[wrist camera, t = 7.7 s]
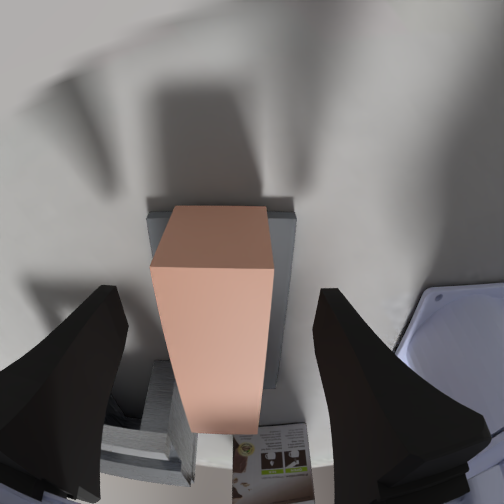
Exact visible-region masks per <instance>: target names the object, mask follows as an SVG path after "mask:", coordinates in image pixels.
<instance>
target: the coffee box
mask: <svg viewBox="0 0 504 504" xmlns="http://www.w3.org/2000/svg"><path fill="white" fill-rule="evenodd" d="M232 484H233V485H232V496H233V497H232V504H315V497H314V487H313V478H312V469H311V460H310V452H309V442H308V434H307V425H306V423H300V424H291V425H279V426H265V427H258V434H251V435H245V434H233V480H232Z"/></svg>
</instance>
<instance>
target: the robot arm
mask: <svg viewBox="0 0 504 504" xmlns="http://www.w3.org/2000/svg"><path fill="white" fill-rule="evenodd" d="M128 327H129V325H128V322H127V319H126V316H125V313H124V310H123V307H122V304H121V300H120V297H119V294H118V291H117V287H116V286H110V285H101V286H100V287H99V288H98V289H96V290H95V291H94V292H93V293H92V294H91V295H90V296H89V297H88V298H87V299H86V300H85V301H84V302H83V303H82V304H81V305H80V306H79V307H78V308H77V309H76V310H75V311H74V312H73V313H72V314H71V315H69V316H68V317H67V318H66V319H65V320H64V321H63V322H62V323H61V324H60V325H59V326H58V327H57V328H56V329H55V330H53V331H52V332H51V333H50V334H49V335H48V336H47V337H46V338H45V339H44V340H42V341H41V342H40V343H39V344H38V345H37V346H35V347H34V348H33V349H31V350H30V351H29V352H28V353H26V354H25V355H24V356H22V357H21V358H20V359H18V360H17V361H15V362H14V363H12V364H11V365H9V366H8V367H6V368H5V369H3V370H2V371H0V504H80V503H77V502H74V501H70V500H68V499H67V497H68V498H71V499H74V500H76V499H79V500H82V501H86V502H89V503H96V502H98V501H99V500H100V499H101V498H100V456H101V443H102V434H103V426H104V420H105V413H106V408H107V404H108V399H109V396H110V393H111V389H112V386H113V383H114V380H115V377H116V373H117V370H118V367H119V364H120V361H121V358H122V355H123V351H124V347H125V342H126V337H127V332H128ZM312 331H313V339H314V348H315V355H316V359H317V364H318V368H319V372H320V376H321V380H322V384H323V388H324V393H325V397H326V401H327V405H328V411H329V416H330V425H331V434H332V446H333V459H334V481H335V504H504V283H492V284H478V285H463V286H446V287H431V288H428V289H426V290H425V291H424V293H423V294H422V297H421V299H420V301H419V304H418V306H417V308H416V310H415V313H414V315H413V317H412V319H411V322H410V324H409V326H408V328H407V330H406V332H405V334H404V336H403V338H402V340H401V342H400V344H399V346H398V348H397V350H396V352H395V354H394V353H393V352H392V351H391V350H390V349H389V348H388V347H387V346H386V345H385V344H384V343H383V342H382V340H381V339H380V338H379V337H378V336H377V335H376V334H375V333H374V332H373V330H372V329H371V328H370V327H369V326H368V325H367V323H366V322H365V321H364V320H363V319H362V318H361V316H360V315H359V314H358V313H357V311H356V310H355V309H354V308H353V306H352V305H351V304H350V303H349V301H348V300H347V299H346V298H345V296H344V295H343V294H342V293H341V292H340V290H339V289H338V288H321V290H320V295H319V300H318V305H317V310H316V315H315V319H314V324H313V329H312Z"/></svg>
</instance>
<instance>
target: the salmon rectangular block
mask: <svg viewBox="0 0 504 504" xmlns="http://www.w3.org/2000/svg"><path fill="white" fill-rule="evenodd" d="M150 271H151V277H152V282H153V287H154V292H155V296H156V301H157V306H158V310H159V315H160V319H161V324H162V328H163V332H164V337H165V341H166V345H167V349H168V353H169V357H170V360H171V364H172V368H173V372H174V375H175V379H176V383H177V386H178V390H179V393H180V397H181V400H182V403H183V407H184V410H185V413H186V416H187V420H188V423H189V426H190V429H191V432H192V433H208V434H245V435H251V434H258V425H259V417H260V408H261V399H262V390H263V381H264V371H265V362H266V352H267V342H268V332H269V322H270V311H271V301H272V290H273V279H274V262H273V255H272V247H271V239H270V232H269V224H268V217H267V209H266V206H175V208H174V210H173V212H172V214H171V217H170V219H169V221H168V224H167V226H166V228H165V231H164V233H163V235H162V238H161V240H160V243H159V245H158V247H157V250H156V252H155V255H154V257H153V260H152V262H151V265H150Z"/></svg>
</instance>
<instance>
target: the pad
mask: <svg viewBox="0 0 504 504" xmlns="http://www.w3.org/2000/svg"><path fill="white" fill-rule="evenodd" d="M171 214H172V212H150V213H149V215H148V216H147V218H146V220H147V227H148V233H149V239H150V245H151V251H152V257H154V255H155V252H156V250H157V247H158V245H159V243H160V240H161V238H162V235H163V233H164V231H165V228H166V226H167V224H168V221H169V219H170V217H171ZM267 217H268V224H269V232H270V239H271V247H272V255H273V262H274V279H273V290H272V301H271V311H270V322H269V332H268V342H267V352H266V362H265V371H264V381H263V389H275V388H276V382H277V376H278V369H279V362H280V355H281V348H282V340H283V333H284V326H285V318H286V310H287V302H288V294H289V286H290V277H291V269H292V260H293V251H294V241H295V232H296V222H297V218H296V215H295V212H267Z"/></svg>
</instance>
